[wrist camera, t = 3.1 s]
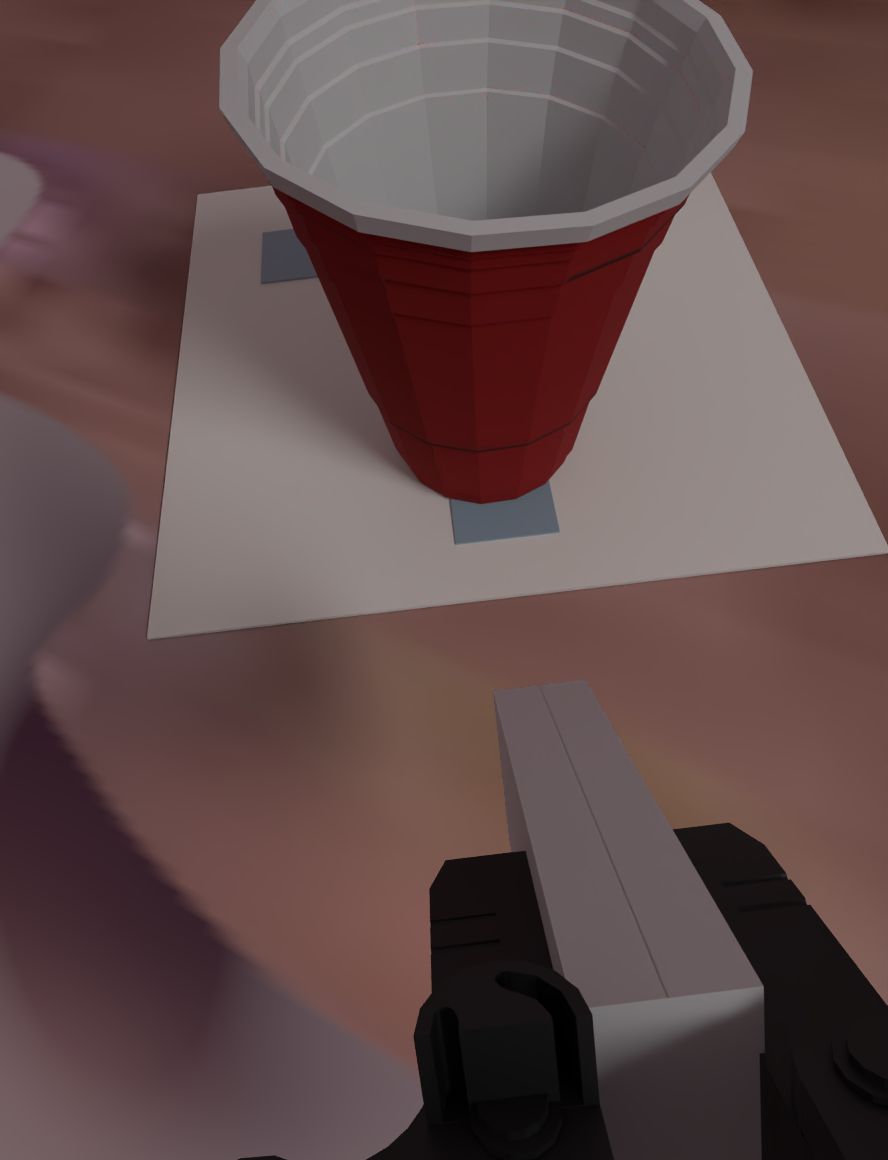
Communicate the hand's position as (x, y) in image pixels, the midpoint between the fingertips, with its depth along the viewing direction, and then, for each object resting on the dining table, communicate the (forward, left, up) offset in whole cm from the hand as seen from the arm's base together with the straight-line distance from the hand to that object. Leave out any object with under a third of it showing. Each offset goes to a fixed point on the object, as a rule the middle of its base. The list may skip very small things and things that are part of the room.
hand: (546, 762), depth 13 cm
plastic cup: (-1, -13, -7) cm, 15 cm away
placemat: (-1, -18, -7) cm, 20 cm away
